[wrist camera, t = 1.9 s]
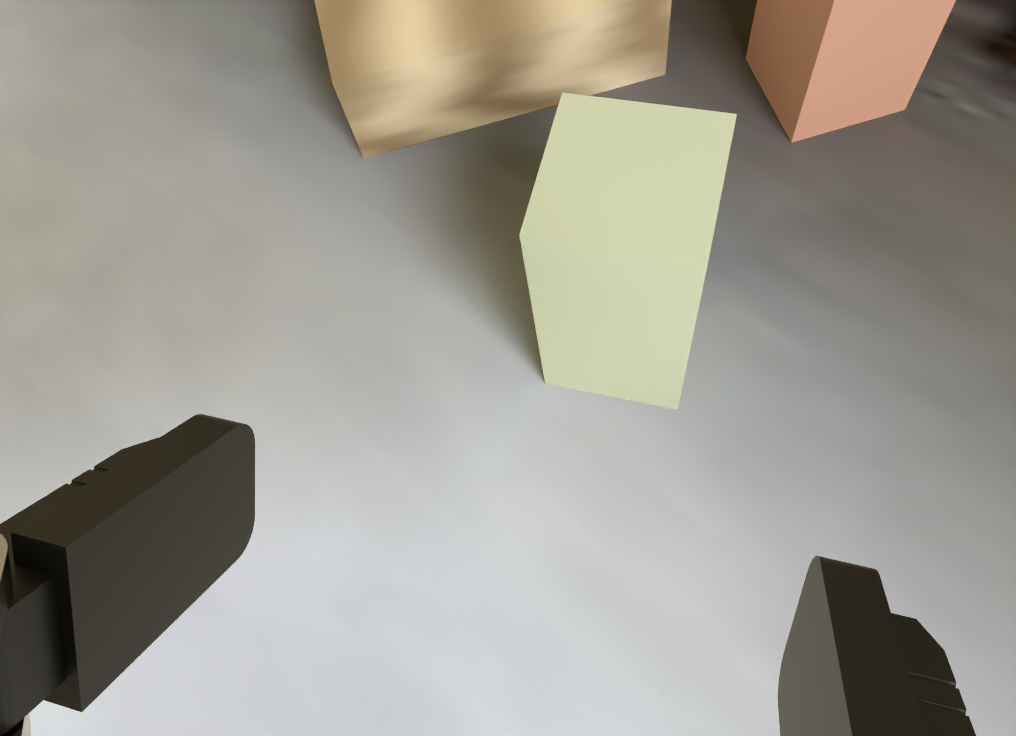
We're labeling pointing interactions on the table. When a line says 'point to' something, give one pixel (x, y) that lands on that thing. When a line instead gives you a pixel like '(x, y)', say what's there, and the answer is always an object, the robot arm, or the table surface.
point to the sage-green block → (623, 242)
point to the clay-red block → (841, 58)
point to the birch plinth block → (479, 59)
